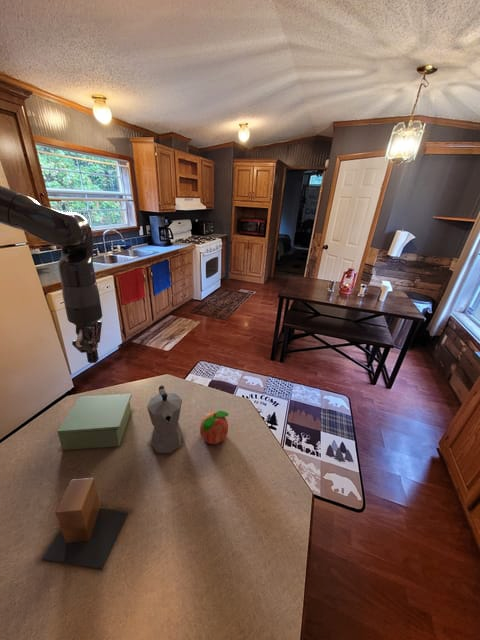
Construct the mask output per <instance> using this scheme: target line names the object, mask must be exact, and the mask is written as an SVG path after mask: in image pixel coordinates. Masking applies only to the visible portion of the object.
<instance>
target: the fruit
mask: <svg viewBox="0 0 480 640" xmlns="http://www.w3.org/2000/svg"><path fill="white" fill-rule="evenodd" d="M228 416H229V413H228V412H227V411H225V410H217V411H211V412H209V413H207V414H206V415H204V417H203V418H202V419H201V421H200V423H199V424H200V425H199V433H200V436H201V439H202V440H203V441H205V443H207V444H210V445H216V444H217V445H218V444H220V443H221V442H222V441H224V440H225V438H226V437H227V435H228V432H229V423H228V420H227V418H226V417H228Z"/></svg>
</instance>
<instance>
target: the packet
mask: <svg viewBox="0 0 480 640" xmlns="http://www.w3.org/2000/svg"><path fill="white" fill-rule="evenodd" d="M100 508H101V503H100V499H99V495H98V491H97V486H96V482H95V477H88V478H76V479H75V478H74V479H70V481H69V483H68V486H67V487H66V489H65V491H64V494H63V496H62V499H61V500H60V502H59V505H58V507H57V508H56V511H55V515H56V518H57V522H58V524H59V527H60V531H61V530H62V533H63V536H64V539H65V542H66V543H71V542H79V541H88V540H90V537H91V534H92V531H93V528H94V525H95V522H96V519H97V516H98V513H99V510H100Z"/></svg>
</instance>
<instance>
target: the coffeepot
mask: <svg viewBox="0 0 480 640" xmlns="http://www.w3.org/2000/svg"><path fill="white" fill-rule="evenodd" d="M158 393H159V394H156V395H154V396H152V397H150V400H149V402H148V404H147V406H146V408H147V412H148V414H149V415H148V416H149V418H150V422H151V425H152V426H153V430H152V435H151V442H150V446H151V447H152V448H153V449H154V451H155V452H156V453H157V454H171V453H172V452H173V451H175V450H177V449H179V448H180V447H181V444H182V440H183V433H182V429H181V425H180V423H179V421H180V417H181V410H182V403H183V399H182V398H181V397H180V396H179V395H178V394H177V393H175V392H166V388H165V385H160V386H159V387H158Z"/></svg>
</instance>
